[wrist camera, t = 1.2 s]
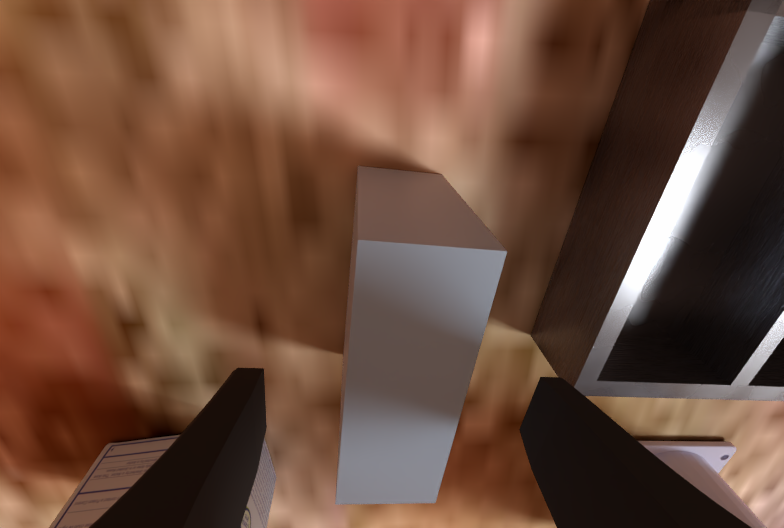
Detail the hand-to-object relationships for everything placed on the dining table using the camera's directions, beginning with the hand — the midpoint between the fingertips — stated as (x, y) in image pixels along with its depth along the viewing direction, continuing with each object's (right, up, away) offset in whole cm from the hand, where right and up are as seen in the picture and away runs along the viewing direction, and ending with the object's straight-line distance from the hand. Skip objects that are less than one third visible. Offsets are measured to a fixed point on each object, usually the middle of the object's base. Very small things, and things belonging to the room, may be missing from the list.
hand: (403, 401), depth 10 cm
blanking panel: (-1, +3, +6) cm, 7 cm away
